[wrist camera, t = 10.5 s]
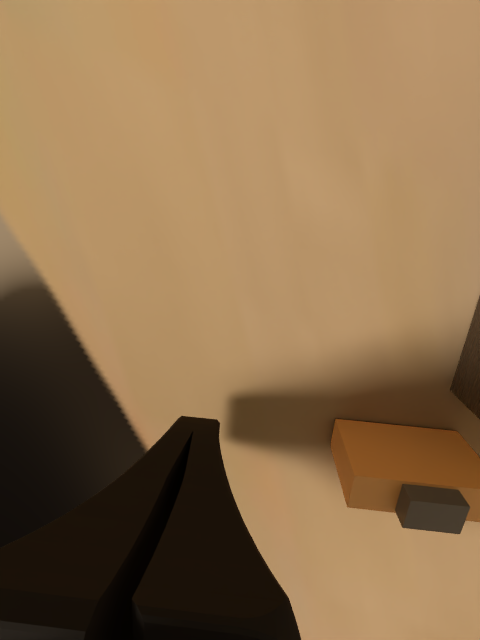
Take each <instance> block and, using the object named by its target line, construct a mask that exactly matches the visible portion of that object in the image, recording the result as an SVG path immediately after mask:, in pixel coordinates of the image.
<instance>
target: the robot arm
mask: <svg viewBox="0 0 480 640" xmlns="http://www.w3.org/2000/svg"><path fill="white" fill-rule="evenodd" d="M219 428H220V423H219V422H218V420H215V419H206V418H196V417H186V416H181V417H180V418H178V419H177V421H176V422H175V423H174V424H173V425H172V426H171V427H170V429H169V430H168V431H167V432H166V433H165V434H164V435H163V436H162V437H161V438H160V439H159V440H158V441H157V442H156V443H155V444H154V445H153V446H152V447H151V448H150V449H149V450H148V451H147V452H146V453H145V454H144V455H143V456H142V457H141V458H140V459H139V460H138V461H137V462H136V463H134V464H133V465H132V466H131V467H130V468H129V469H128V470H127V471H125V472H124V473H123V474H122V475H121V476H119V477H118V478H117V479H116V480H114V481H113V482H112V483H110V484H109V485H108V486H107V487H105V488H104V489H103V490H101V491H100V492H98V493H97V494H96V495H94V496H93V497H91V498H90V499H88V500H87V501H85V502H84V503H82V504H80V505H79V506H77V507H76V508H74V509H73V510H71V511H70V512H68V513H66V514H65V515H63V516H61V517H60V518H58V519H56V520H54V521H53V522H51V523H49V524H47V525H45V526H43V527H42V528H40V529H38V530H36V531H34V532H32V533H30V534H28V535H26V536H24V537H22V538H20V539H18V540H16V541H14V542H12V543H10V544H8V545H6V546H3V547H1V548H0V640H301V637H300V633H299V630H298V626H297V623H296V619H295V616H294V613H293V610H292V607H291V604H290V601H289V598H288V596H287V595H286V593H285V592H284V590H283V589H282V587H281V586H280V585H279V583H278V582H277V580H276V579H275V577H274V575H273V574H272V572H271V571H270V569H269V568H268V566H267V564H266V562H265V561H264V559H263V557H262V556H261V554H260V552H259V551H258V549H257V547H256V545H255V543H254V541H253V539H252V537H251V535H250V533H249V531H248V529H247V527H246V525H245V523H244V521H243V519H242V517H241V514H240V512H239V510H238V507H237V505H236V502H235V500H234V497H233V494H232V492H231V489H230V486H229V482H228V479H227V476H226V472H225V468H224V464H223V460H222V455H221V450H220V443H219Z"/></svg>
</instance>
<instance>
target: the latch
mask: <svg viewBox="0 0 480 640" xmlns="http://www.w3.org/2000/svg"><path fill="white" fill-rule="evenodd" d="M330 446H331V450H332V454H333V457H334V461H335V465H336V468H337V472H338V475H339V479H340V483H341V486H342V490H343V493H344V497H345V501H346V504H347V507H350V508H359V509H368V510H376V511H385V512H394V513H396V514H397V516H398V518H399V521H400V523H401V525H402V528H409V529H418V530H427V531H436V532H445V533H454V534H460V533H461V530H462V528H463V525H464V522H465V520H466V521H475V522H480V457H479V456H478V455H477V454H476V453H475V452H474V450H473V449H472V448H471V447H470V446H469V444H468V443H467V442H466V441H465V440H464V439H463V437H462V436H461V435H460V434H459V433H458V432H457V431H450V430H440V429H431V428H421V427H411V426H401V425H391V424H382V423H372V422H362V421H352V420H343V419H335V424H334V429H333V434H332V439H331V445H330Z"/></svg>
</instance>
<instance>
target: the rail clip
mask: <svg viewBox="0 0 480 640" xmlns="http://www.w3.org/2000/svg"><path fill="white" fill-rule="evenodd" d="M451 391H452V392H453V393H454V394H455V395H456V396H457V397H458V398H459V399H460V400H461V401H462V402H463V403H464V404H465V405H466V406H467V407H468V408H469V409H470V410H471V411H472V412H473V413H474V414H475V415H476V416H477V417H478V418H479V419H480V297H479V300H478V303H477V307H476V310H475V313H474V316H473V319H472V323H471V326H470V329H469V332H468V335H467V339H466V342H465V345H464V348H463V351H462V355H461V358H460V361H459V364H458V367H457V371H456V374H455V377H454V380H453V383H452V387H451Z"/></svg>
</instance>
